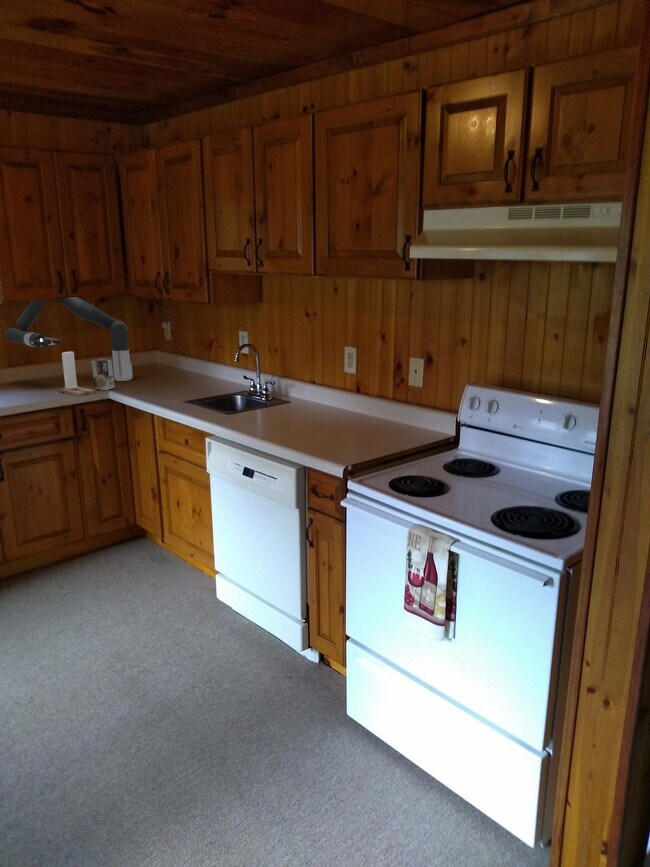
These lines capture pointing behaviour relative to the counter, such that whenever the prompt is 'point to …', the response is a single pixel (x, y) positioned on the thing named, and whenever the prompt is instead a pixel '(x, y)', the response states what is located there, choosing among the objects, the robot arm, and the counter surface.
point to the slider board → (78, 391)
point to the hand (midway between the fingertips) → (54, 343)
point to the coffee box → (103, 374)
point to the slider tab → (69, 370)
